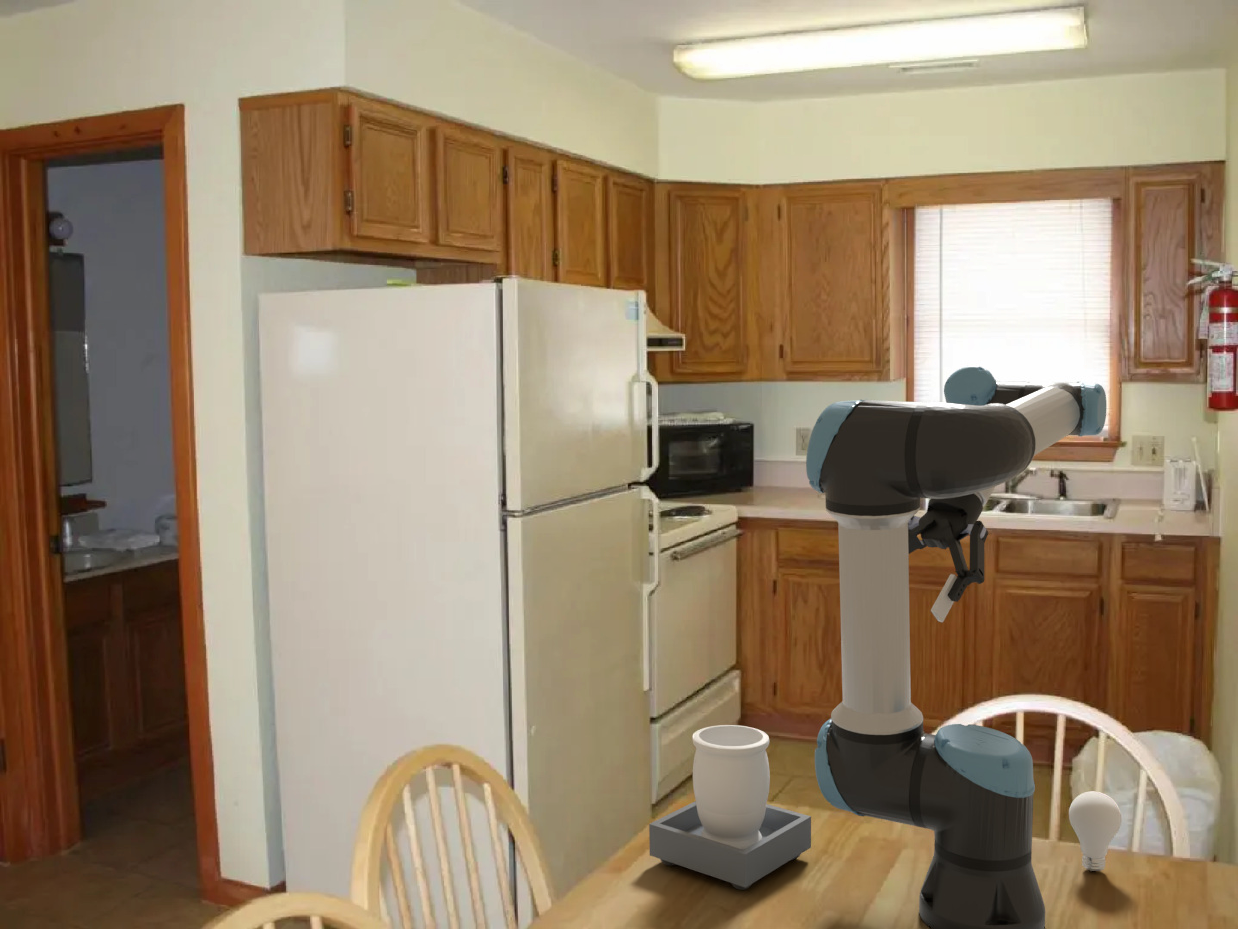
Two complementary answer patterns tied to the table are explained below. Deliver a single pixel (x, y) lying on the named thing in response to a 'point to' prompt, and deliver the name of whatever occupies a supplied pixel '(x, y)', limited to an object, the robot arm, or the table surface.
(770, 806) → the footed square tray
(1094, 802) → the light bulb
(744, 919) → the table surface
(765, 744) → the jar
